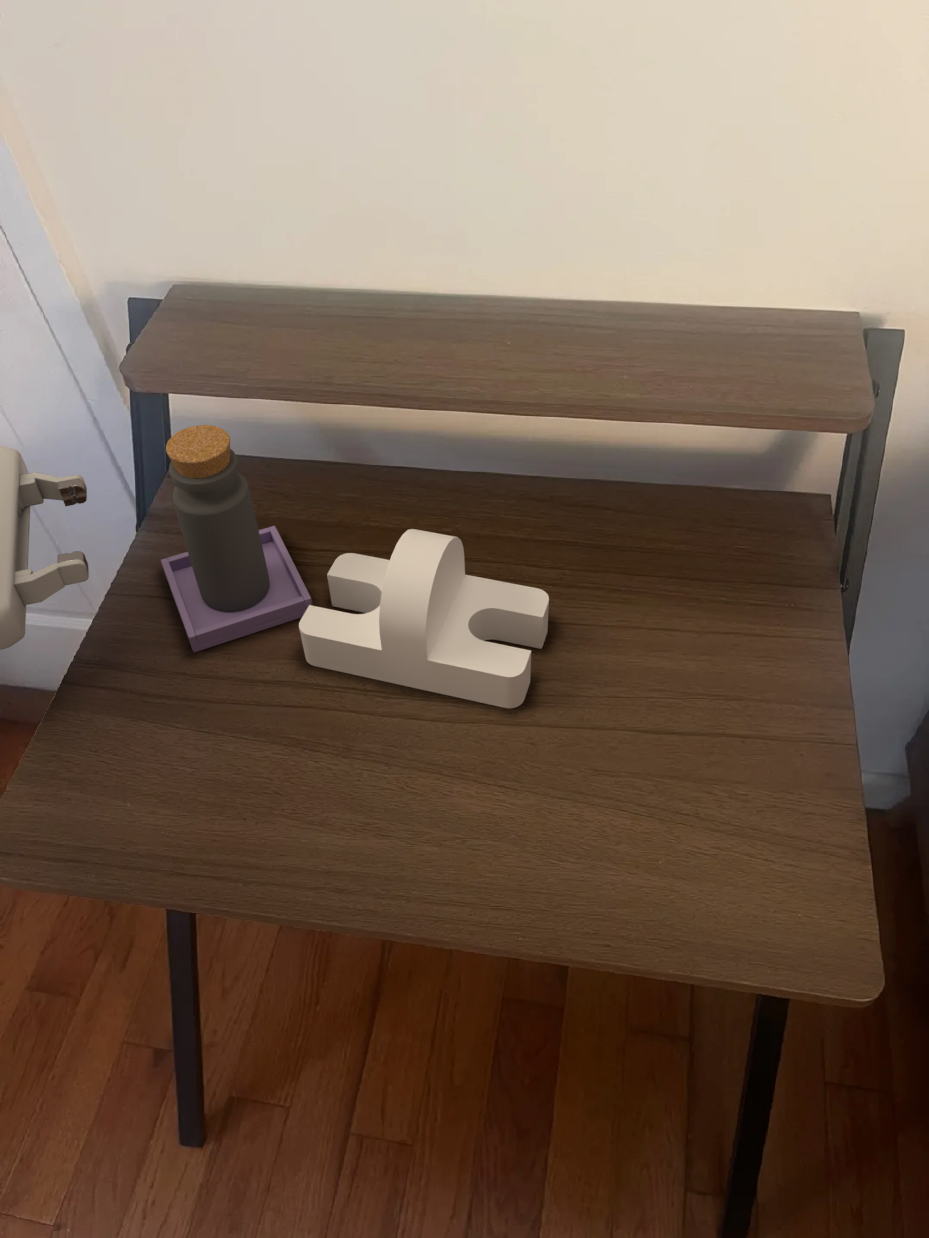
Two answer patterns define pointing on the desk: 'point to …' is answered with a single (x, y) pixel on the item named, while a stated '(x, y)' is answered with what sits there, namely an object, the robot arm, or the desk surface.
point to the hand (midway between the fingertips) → (85, 525)
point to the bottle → (217, 519)
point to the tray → (219, 627)
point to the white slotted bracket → (427, 623)
